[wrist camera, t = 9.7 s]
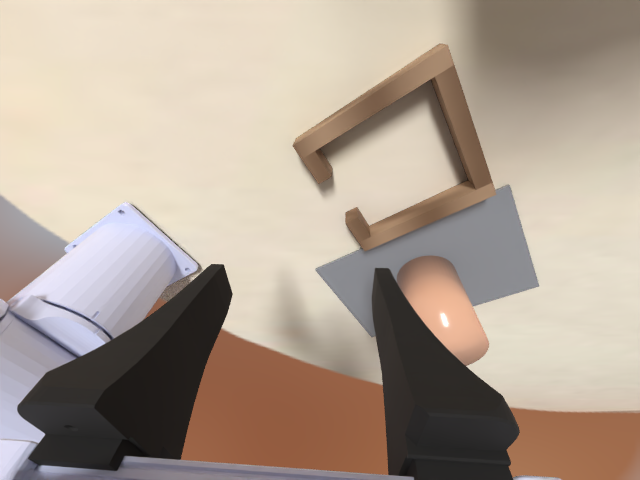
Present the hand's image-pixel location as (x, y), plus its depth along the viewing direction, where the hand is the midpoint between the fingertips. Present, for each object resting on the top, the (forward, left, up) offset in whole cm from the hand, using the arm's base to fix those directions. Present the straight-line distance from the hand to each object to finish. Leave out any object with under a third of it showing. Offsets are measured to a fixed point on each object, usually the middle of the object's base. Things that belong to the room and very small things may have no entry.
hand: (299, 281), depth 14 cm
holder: (+6, -1, -9) cm, 11 cm away
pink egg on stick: (+3, -13, -9) cm, 17 cm away
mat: (+4, -12, -9) cm, 16 cm away
